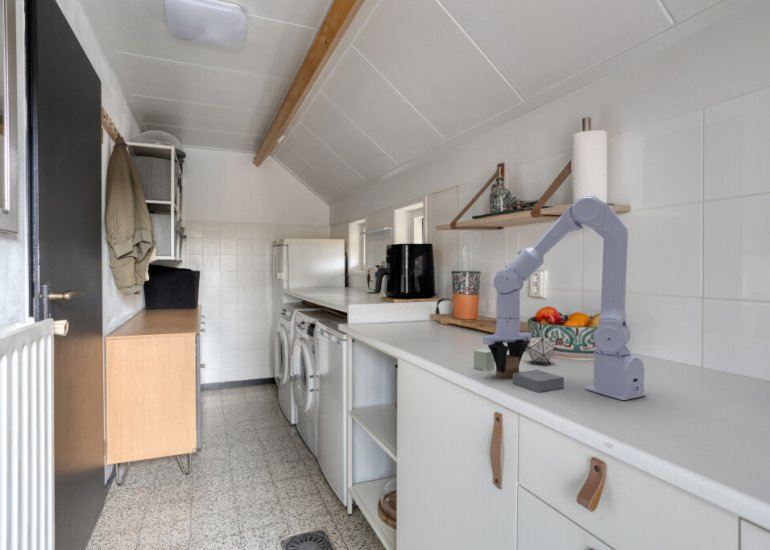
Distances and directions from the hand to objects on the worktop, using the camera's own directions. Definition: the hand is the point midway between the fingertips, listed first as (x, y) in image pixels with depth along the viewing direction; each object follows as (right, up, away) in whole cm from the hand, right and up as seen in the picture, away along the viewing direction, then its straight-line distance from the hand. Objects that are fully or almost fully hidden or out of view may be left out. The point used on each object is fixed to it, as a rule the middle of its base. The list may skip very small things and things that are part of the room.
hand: (507, 370), depth 109 cm
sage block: (-4, -1, +8) cm, 9 cm away
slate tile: (+5, -2, -9) cm, 10 cm away
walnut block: (0, -1, 0) cm, 1 cm away
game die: (+14, -1, +15) cm, 20 cm away
